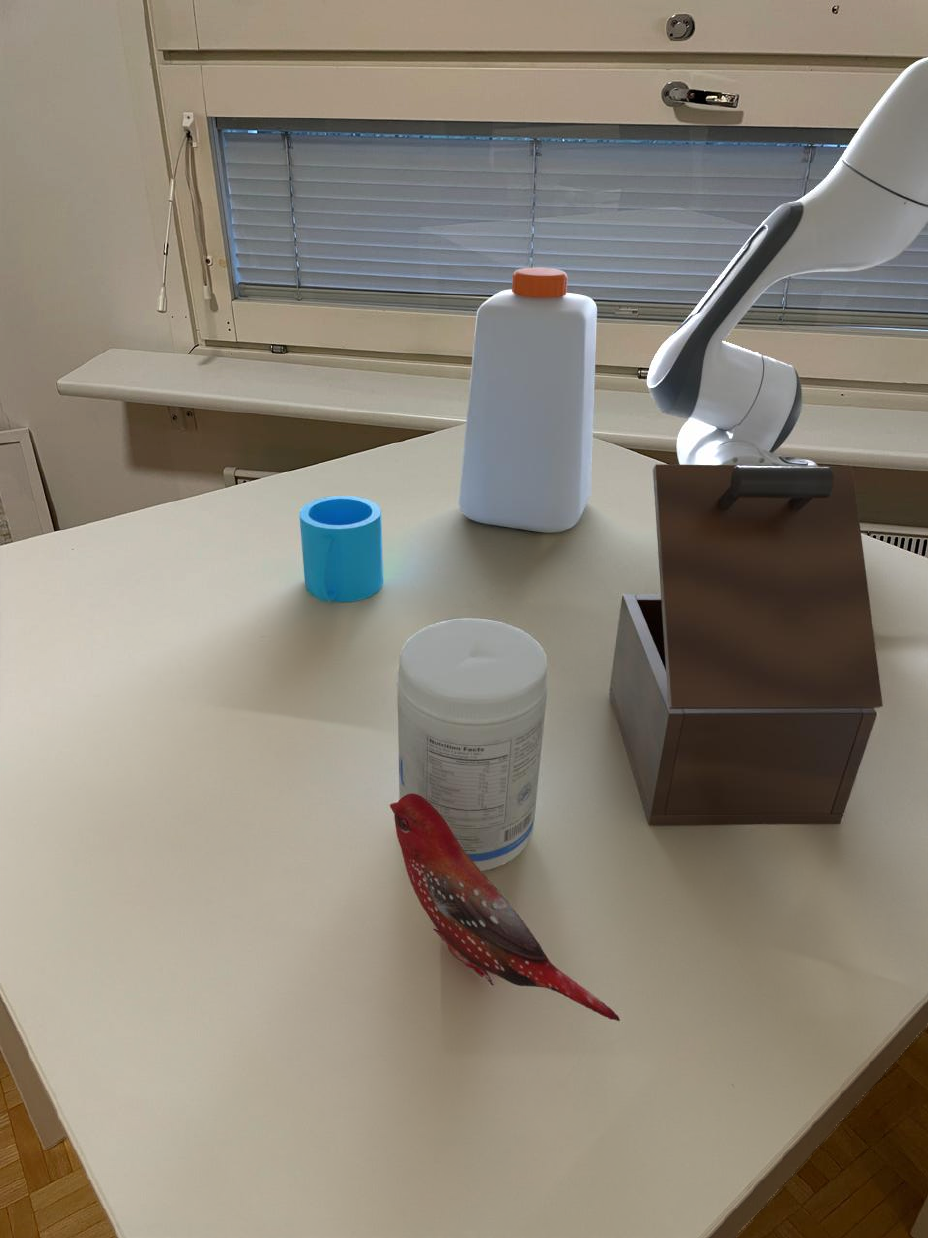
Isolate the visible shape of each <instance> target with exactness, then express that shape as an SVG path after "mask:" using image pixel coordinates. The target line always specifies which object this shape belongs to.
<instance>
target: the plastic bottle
mask: <svg viewBox="0 0 928 1238" xmlns="http://www.w3.org/2000/svg"><path fill="white" fill-rule="evenodd" d="M568 279H569V275H567V273H566V272H565V271H564V270H561V269H557V268H550V267H523V268H522V267H521V268H518V269H516V270H515V271H514V272H513V273H512V281H511V282H512V283H511V289H505V290H501V291H499V292H498V293H496V294H494V295H492V296H491V297H489V298H488V299H487V300H485V301H484V302H483V303H481V304H480V306H479V307H478V308H477V311H476V318H475V327H474V336H473V337H474V338H473V348H472V358H471V359H472V360H471V370H470V378H469V380H470V381H469V388H468V400H467V410H466V411H467V412H466V419H465V420H466V421H465V430H464V431H465V432H464V442H463V452H462V463H461V471H460V472H461V473H460V483H459V492H458V507H459V510H460V511H461V513H462V514H463V515H464V516H465V517H466V518H467V519H469V520H471V521H474V522H477V523H479V524H484V525H492V526H497V527H502V528H503V527H504V528H511V529H518V530H525V531H532V532H536V533H545V534H546V533H548V534H551V533H553V534H555V533H560V532H564V531H567V530H570V529H572V528H573V527H574V526H576V525H577V524H578V523H579V521H580V520H581V517H582V515H583V513H584V512H585V508H586V506H587V505H588V503H589V501H590V498H591V495H592V475H593V443H594V442H593V441H594V415H595V414H594V413H595V411H594V410H595V384H596V382H595V381H596V353H597V352H596V351H597V350H596V349H597V346H596V345H597V325H598V323H597V320H598V319H597V318H598V307H597V304H596V302H595V300H593V299H592V298H591V297H589V296H587V295H583V294H577V293H572V292H571V293H570V292H567V290H568Z"/></svg>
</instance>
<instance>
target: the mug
mask: <svg viewBox="0 0 928 1238" xmlns="http://www.w3.org/2000/svg"><path fill="white" fill-rule="evenodd" d="M298 515H299V529H300V538H301V553H302V564H303V577H304V586H305V590H306V591H307V592H308V593H309V595H311V596H312V597H314V598H316V599H317V600H319V601H321V602H323V603H328V602H330V603H350V602H357V601H360V600H364V599H365V600H366V599H368V598H370V597H372V596H373V595H375V594H377V593H378V592H379V591H380V590H381V589H382V587H383V583H384V567H383V566H384V565H383V563H384V562H383V531H382V530H383V529H382V509H381V507H380V505H379V504H377V503H376V502H375V501H374V500H370V499H368V498H364V497H360V496H354V495H332V496H326V497H321V498H316V499H314V500H312V501H309V502H307V503H306V504H305V505H303V506H302V507H301V508H300V510H299V513H298Z"/></svg>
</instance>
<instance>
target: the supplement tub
mask: <svg viewBox="0 0 928 1238" xmlns="http://www.w3.org/2000/svg"><path fill="white" fill-rule="evenodd" d="M396 676H397V678H396V679H397V681H396V682H397V683H396V685H397V686H396V688H397V692H396V694H397V697H396V699H397V701H396V702H397V737H398V742H397V743H398V801H399V800H400V799H401V798H402V797H403V796H405V795H407V794H411V793H413V794H417V795H420V796H422V797H423V798H425V799H426V800H427V801H428V802H429V803H430V804H431V805H432V806H433V807H434V808H435V809H436V810H437V811H438V813H439V814H440V815H441V816H442V817H443V819H444V820H445V821H446V823H447V824H448V826H449V828H450V829H451V831H452V833H453V834H454V836H455V838H456V840H457V841H458V843H459V844H460V846H461V847H462V849H463V850H464V851H465V853H466V854H467V855H468V856H469V857H470V859H471V860H472V861H473V862H474V863H475V865H476V866H477V867H478V868H479V869H480V870H481V872H483V871H489V870H492V869H495V868H498V867H501V866H503V865H505V864H507V863H509V862H510V861H512V860H513V859H515V858H517V857H518V855H519V854H520V853H521V852H522V851H523V850H524V849H525V848H526V846H527V845H528V843H529V841H530V839H531V837H532V835H533V832H534V828H535V819H536V808H537V800H538V799H537V798H538V790H539V789H538V788H539V779H540V769H541V760H542V759H541V758H542V750H543V749H542V748H543V738H544V729H545V719H546V708H547V698H548V685H549V676H548V658H547V654H546V652H545V650H544V648H543V647H542V645H541V644H540V643H539V642H538V641H537V640H536V639H535V638H534V637H533V636H532V635H530V634H529V633H527V632H526V631H524V630H522V629H521V628H518V627H516V626H513V625H512V624H511V625H510V624H508V623H504V622H502V621H497V620H491V619H485V618H476V617H475V618H473V617H472V618H469V617H468V618H454V619H449V620H443V621H439V622H436V623H432V624H430V625H427V626H425V627H423V628H421V629H420V630H417V631H416V632H415V633H414V634H412V635H411V636H410V637H409V638H408V639H407V640H406V641H405V643H404V644H403V646H402V648H401V650H400V653H399V660H398V669H397V675H396Z"/></svg>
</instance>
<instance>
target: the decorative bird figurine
mask: <svg viewBox="0 0 928 1238" xmlns="http://www.w3.org/2000/svg"><path fill="white" fill-rule="evenodd" d="M389 808H390V809H391V811H392V813H393V816H394V818H393V819H394V825H395V832H396V837H397V839H398V841H397V842H398V844H399V846H400V850H401V854H402V857H403V861H404V866H405V869H406V872H407V877H408V879H409V881H410V885H411V887H412V889H413V891H414V893H415V895H416V897H417V900H418V901H419V903H420V905H421V907H422V908H423V910H424V912H425V913H426V915H427V916H428V918H429V920H430V921H431V922H432V924H433V925H434V926H435V928H432V930H433V931H434V932H435V933H436V934H437V935H438V936H439V937H440V939H441V940H442V941H443V942H445V944H446V946H447V948H448V950H449V952H450V953H451V954H452V955H453V956H454V957H455V958H457V960H459V961H461V962H462V963H463V964H465V966H466V967H468V968H469V969H472V970H474V971H475V972H476V974H477V975H478V976H480V978H484V977H485V979H486V980H487V981H488V983H490V985H491V986H495V984H494V983H493V980H492V979H491V977H490V975H489V974H488V973H490V974H492V975H494V976H496V977H499V978H501V979H503V980H505V981H507V982H508V983H511V984H513V985H515V986H518V987H536V988H542V989H543V988H544V989H547V990H550V991H553V992H556V993H558V994H560V995H562V996H564V997H565V998H568V999H570V1000H571V1001H574V1002H575V1003H578V1004H579V1005H581V1006H583V1007H584V1008H587V1009H588V1010H591V1011H592V1012H594V1013H597V1014H598V1015H600V1016H603V1017H604V1018H607V1019H609V1020H614V1021H617V1022H621V1020H620V1016H619V1015H618V1014H617V1013H616V1012H615V1011H614V1010H613V1009H612V1008H611V1007H609V1006H608V1005H606V1003H604V1001H601V1000H600V999H599V998H598V997H597V996H595V995H593V994H592V993H591V992H590V991H589V990H587V989H585V988H584V987H583V986H581V985H580V984H578V983H577V982H576V981H575V980H573V979H572V978H571V977H570V976H568V975H567V974H565V973H564V972H563V971H561V970H560V969H559V968H558V967H557V966H556V965H554V964H553V963H552V962H551V961H550V960H549V958H548V956H547V954H546V953H545V952H544V949H543V948H542V946H541V944H540V943H539V942H538V940H537V938H536V936H534V934H533V932H532V931H531V930H530V929H529V928H528V926H527V925H526V923H525V921H524V920H523V919H522V918H521V916H520V915H519V914H518V913H517V911H516V910H515V908H514V907H513V906H512V905H511V903H510V902H509V901H508V899H507V898H505V896H504V895H503V894H502V893H501V891H499V889H498V888H497V887H496V886H495V885H494V884H493V883H492V882H491V880H490V879H489V878H488V877H487V876H486V875H485V874H484V872H483V871H481V870H480V869H479V868H478V867H477V866H476V865H475V863H474V862H473V861H472V860H471V859H470V857H469V856H468V855H467V854H466V853H465V851H464V850H463V849H462V847H461V846H460V844H459V843H458V841H457V840H456V838H455V836H454V834H453V833H452V831H451V829H450V828H449V826H448V824H447V823H446V821H445V820H444V819H443V817H442V816H441V815H440V814H439V813H438V811H437V810H436V809H435V808H434V807H433V806H432V805H431V804H430V803H429V802H428V801H427V800H426V799H425V798H423V797H422V796H420V795H417V794H413V793H411V794H407V795H405V796H403V797H402V798H401V799H400V800H399V799H398V801H396V802H392V803H390V804H389Z"/></svg>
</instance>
